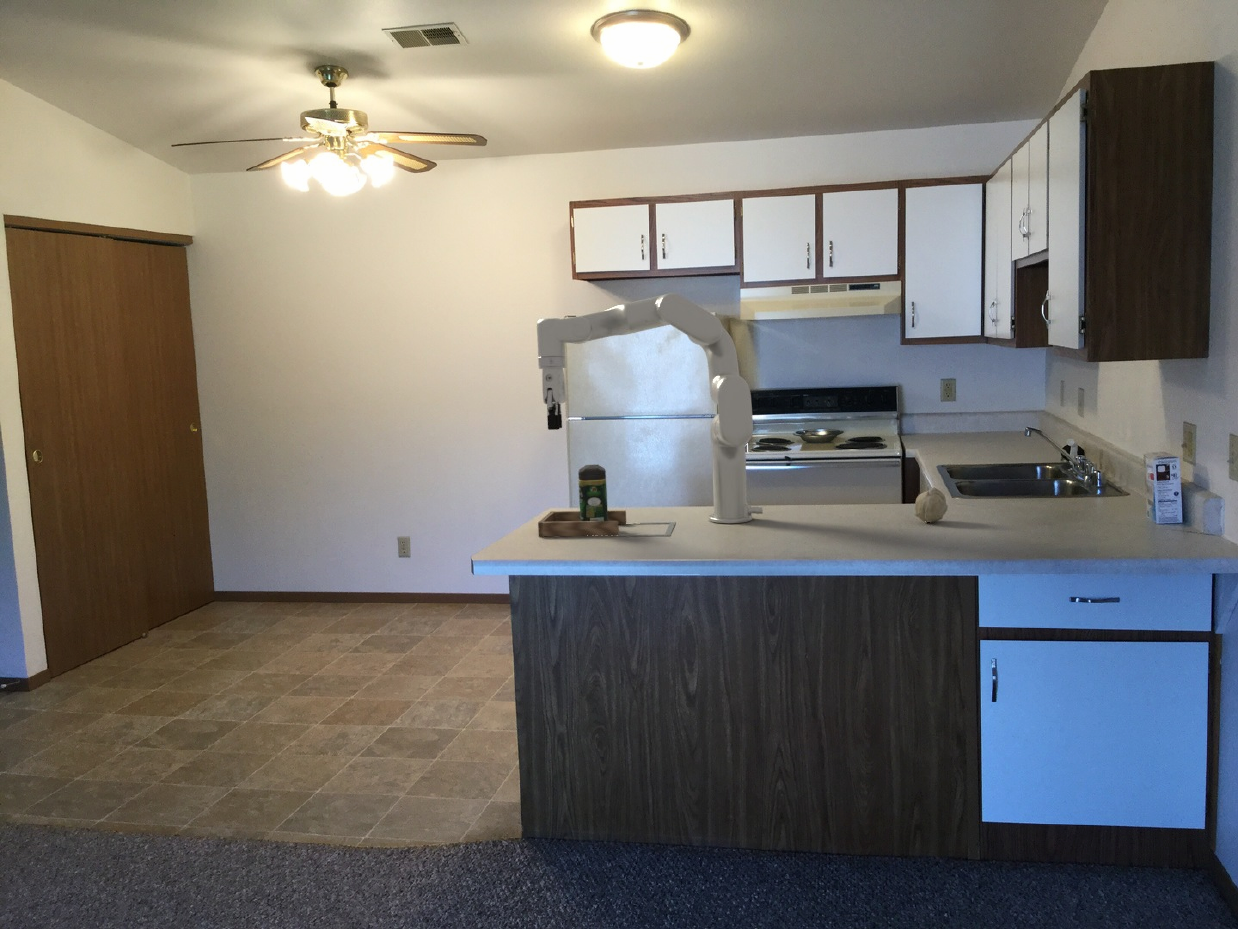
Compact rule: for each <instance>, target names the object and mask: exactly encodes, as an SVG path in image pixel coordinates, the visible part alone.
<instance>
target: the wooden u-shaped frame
mask: <svg viewBox="0 0 1238 929" xmlns="http://www.w3.org/2000/svg"><path fill="white" fill-rule="evenodd" d="M626 523H627V510H626V509H625V510H621V509H620V510H608V521H581V520H580V510H568V511H567V510H561V511H560V510H558V511H557V510H555V511H553V510H551V511H550V512H548V513H547V514H546V515H545V516H544V517H543V518H542V519H541V520H539V521H538V522H537V528H538V537H539V536H575V537H596V536H595V535H598V536H597V537H606V536H605V535H608V536H607V537H615V536H614V535H620V532H619V531H620V530H619V528H620V527H619V526H620V525H618V524H626ZM626 525H627V524H626ZM587 535H588V536H587ZM592 535H594V536H592ZM601 535H603V536H601ZM611 535H613V536H611Z"/></svg>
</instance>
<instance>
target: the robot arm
mask: <svg viewBox="0 0 1238 929" xmlns="http://www.w3.org/2000/svg"><path fill="white" fill-rule="evenodd" d="M665 326H672V327H673V328H675V329H677V330H678V331H679V332H682V333H683V334H685V335H687V337H688V339H689V341H690V342H692V343H693V344H696V345H699V346H700V347H701V349H702V350H703V351H704V353H705V355H706V359H707V368H708V381H709V382H708V383H709V394H710V399H711V400H712V401H713V403H715V404H716V405H717V414H716V415H715V416H714V417H713V418H712V421H711V423H710V427H709V428H710V429H709V435H710V442H711V444H710V445H711V453H712V454H711V455H712V488H713V513H711V514H710V515H708V521H709V522H712V523H717V524H741V523H746V522H747V523H748V522H751V521H752V520H753V515H752V514H756V515H760V514H761V515H762V514H763V506H752V505H751V506H750V505H749V503H748V502H747V467H746V466H747V459H746V447H745V445H746V444H747V443H748V442H750V440H751V438H752V436H753V432H754V422H753V419H754V418H753V407H752V394H751V390H750V387H749V384H748V382H747V381H746V379H744V378H743V377H742V376H741V375H740V371H739V363H738V362H739V361H738V355H737V354H738V353H737V349H736V346H735V343H734V340H733V338H732V337H731V335H730V334H729V332H728V331H727V330H726V328H724V326H723V324H722V322H721V320H720V318H718V316H716V315H714V314H713V313H711V312H710V311H708V310H707V309H704V308H703V307H702V306H699V305H698V304H696V303H694V302H693V301H691V300H690V299H688V298H686V297H684V296H683V295H681V294H679V293H676V292H669V293H665V294H662V295H658V296H653V297H649V298H644V299H640V300H636V301H629V302H626V303H622V304H618V305H616V306H613V307H611V308H609V309H605V310H602V311H598V312H593V313H589V314H585V315H580V316H573V317H568V318H567V317H566V318H555V317H552V318H541V319H539V320H538V321H537V322H536V334H537V356H538V357H537V358H538V359H537V360H538V369H539V370H542V371H541V373H542V374H541V377H542V380H541V381H542V382H541V383H542V385H541V386H542V399H543V403H544V404H545V405H546V408H547V409H546V414H547V415H546V418H547V430H548V431H550V430H551V431H552V430H554V431H555V430H560V429H563V418H562V417H563V416H562V404H563V403H566V401H567V390H566V381H565V380H566V379H565V378H566V377H565V371H564V369H566V367H567V364H566V346H565V344H573V345H581V344H584V343H586V342H587V343H588V342H591V341H595V340H599V339H604V338H609V337H615V336H617V337H618V336H627V335H631V334H635V333H639V332H644V331H648V330H652V329H657V328H661V327H665Z"/></svg>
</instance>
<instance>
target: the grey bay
mask: <svg viewBox="0 0 1238 929" xmlns="http://www.w3.org/2000/svg"><path fill="white" fill-rule="evenodd" d="M639 523H640V524H639V525H668V527H667V529H666V532H665V533H661V534H659V533H658V534H654V533H653V534H619V535H618V536H633V537H671V535H672V533H673V530H674V527H675V525H676V523H677V522H675V521H672V522H671V521H668V522H666V521H665V522H662V521H660V522H655V521H654V522H639ZM618 536H617V537H618Z"/></svg>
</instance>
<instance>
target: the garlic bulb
mask: <svg viewBox="0 0 1238 929" xmlns="http://www.w3.org/2000/svg"><path fill="white" fill-rule="evenodd" d="M948 508H949V506H948V504H947V498H946V496H945V494H944V493H943V492H942V491H941V490H939V489H938V488H937V487H931V488H930V489H929V490H927V491H923V492H922V493H920V494H918V496H917V497H916V499H915V507H914V510H915V513H914V516H915V517H916V518H919V519H920V521H922V522H924V521H926V522H930V523H932V522H938V521H941V520H942V519H943V517H944V515H945V514H946V512H947V511H948Z"/></svg>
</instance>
